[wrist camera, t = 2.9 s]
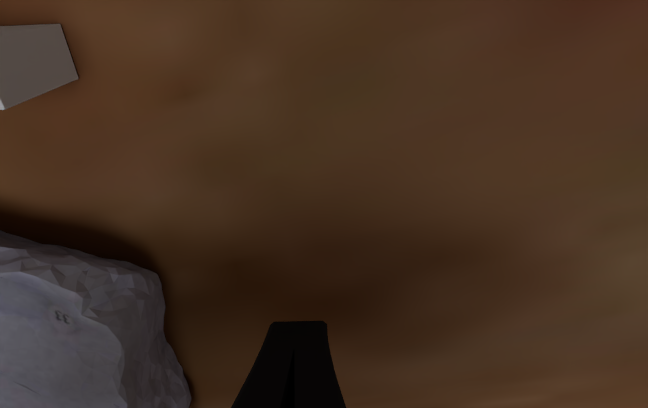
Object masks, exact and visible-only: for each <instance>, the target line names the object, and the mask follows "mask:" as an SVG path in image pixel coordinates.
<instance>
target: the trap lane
mask: <svg viewBox="0 0 648 408" xmlns="http://www.w3.org/2000/svg"><path fill="white" fill-rule="evenodd" d="M77 79H79V78H78V75H77V72H76V69H75V66H74V63H73V60H72V57H71V54H70V51H69V48H68V46H67V43H66V40H65V37H64V34H63V31H62V28H61V25H60V24H41V25H17V26H0V110H5V109H7V108H10V107H12V106H15V105H17V104H19V103H22V102H24V101H27V100H29V99H31V98H34V97H36V96H39V95H41V94H43V93H46V92H48V91H51V90H53V89H55V88H58V87H60V86H62V85H65V84H67V83H70V82H72V81H74V80H77Z"/></svg>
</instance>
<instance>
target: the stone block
mask: <svg viewBox="0 0 648 408" xmlns="http://www.w3.org/2000/svg"><path fill="white" fill-rule="evenodd" d="M165 308H166V306H165V302H164V297H163V293H162V284H161V282H160V279H159V277H158V275H157V273H154V272H152V271H150V270H147V269H144V268H141V267H139V266H137V265H134V264H132V263H130V262H127V261H118V260H114V259H105V258H100V257H97V256H94V255H92V254H87V253H84V252H82V251H80V250H76V249H70V248H67V247H64V246H59V245H52V244H40V243H37V242H34V241H32V240H29V239H26V238H22V237H20V236H16V235H12V234H8V233H5V232H3V231H1V230H0V408H189V406H190V402H191V395H190V391H189V387H188V384H187V381H186V379H185V377H184V375H183V368H182V367H181V365H180V364H179V363H178V361H177V358H176V355H175V353H174V351H173V349H172V347H171V346H170V345H169V344H168V343H167V342H166V339H165V335H164V332H163V326H164V314H165Z"/></svg>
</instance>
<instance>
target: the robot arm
mask: <svg viewBox="0 0 648 408" xmlns="http://www.w3.org/2000/svg"><path fill="white" fill-rule="evenodd" d="M231 408H346V406H345V403H344V400H343V397H342V394H341V390H340V387H339V384H338V381H337V378H336V374H335V371H334V367H333V362H332V358H331V354H330V349H329V343H328V336H327V324H326V323H325V322H323V321H292V322H274V323H272V324H271V325H270V327H269V330H268V333H267V335H266V338H265V340H264V343H263V345H262V347H261V350H260V352H259V354H258V356H257V358H256V360H255V363H254V365H253V367H252V369H251V371H250V373H249V375H248V377H247V379H246V381H245V382H244V384H243V386H242V388H241V390H240V392H239V394H238V396H237V398H236V400H235V401H234V403H233V405H232V407H231Z"/></svg>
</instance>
